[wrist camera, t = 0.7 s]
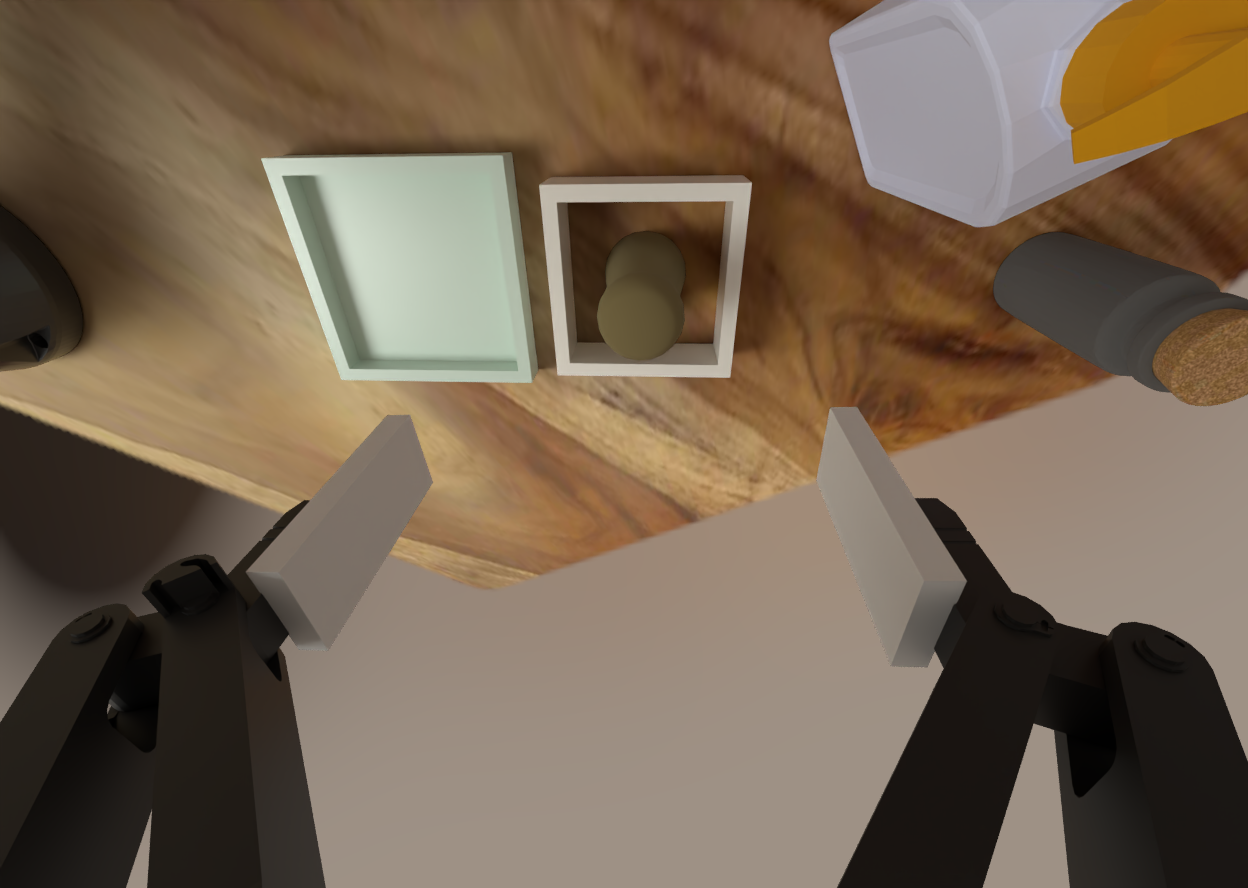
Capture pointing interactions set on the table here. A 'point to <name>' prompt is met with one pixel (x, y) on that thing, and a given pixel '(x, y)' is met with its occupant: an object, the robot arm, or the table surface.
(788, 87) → the table surface
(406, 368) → the tray
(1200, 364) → the bottle
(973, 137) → the soap bottle
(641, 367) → the frame
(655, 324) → the cork
